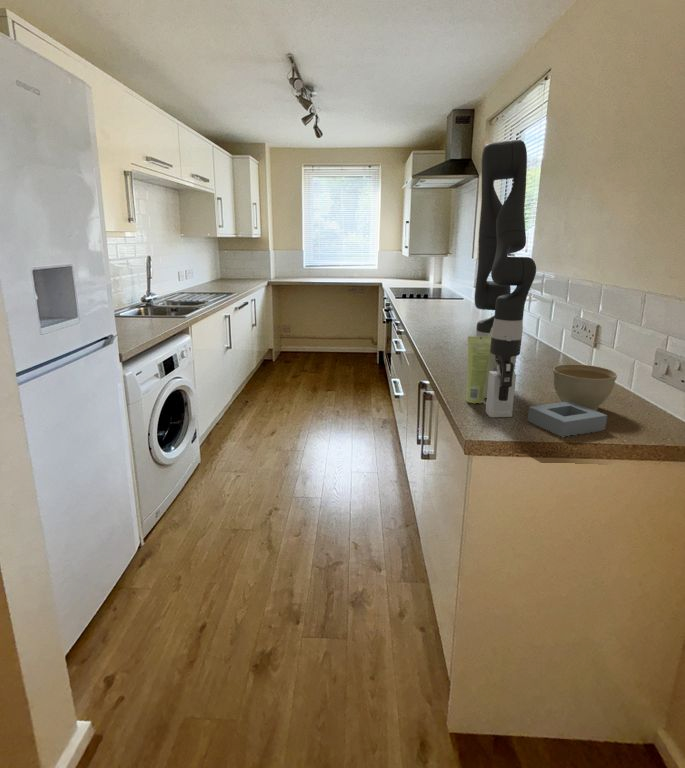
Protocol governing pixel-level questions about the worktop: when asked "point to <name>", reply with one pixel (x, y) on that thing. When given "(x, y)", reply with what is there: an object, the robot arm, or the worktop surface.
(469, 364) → the tube
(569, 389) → the planter bowl
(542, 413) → the socket frame
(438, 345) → the worktop surface
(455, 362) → the worktop surface
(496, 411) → the skincare box
